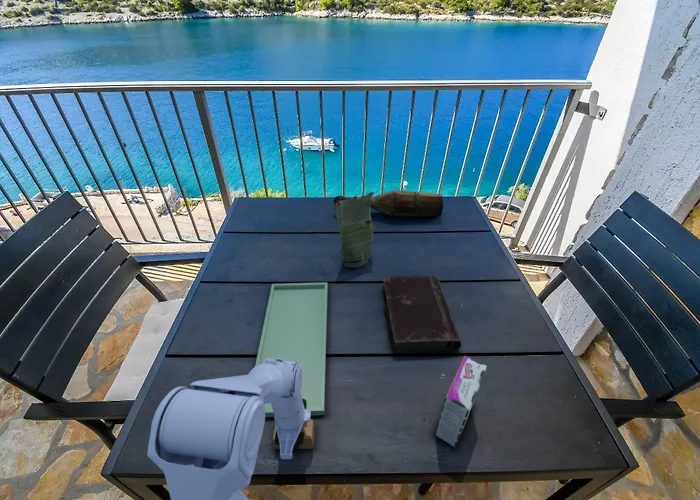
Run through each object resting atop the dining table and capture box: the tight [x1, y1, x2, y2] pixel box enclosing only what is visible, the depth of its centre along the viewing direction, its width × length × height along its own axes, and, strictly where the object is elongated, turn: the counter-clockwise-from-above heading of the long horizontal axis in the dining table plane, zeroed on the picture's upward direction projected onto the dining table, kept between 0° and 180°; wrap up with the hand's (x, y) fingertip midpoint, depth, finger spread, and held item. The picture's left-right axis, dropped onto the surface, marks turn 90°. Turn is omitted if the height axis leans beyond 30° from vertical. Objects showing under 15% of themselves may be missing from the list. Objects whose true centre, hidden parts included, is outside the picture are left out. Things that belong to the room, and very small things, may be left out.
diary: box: [382, 274, 462, 354], centre depth 101 cm, size 19×25×5 cm
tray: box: [254, 282, 329, 418], centre depth 95 cm, size 42×18×2 cm, turn 2°
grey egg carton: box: [434, 355, 488, 448], centre depth 73 cm, size 11×5×16 cm, turn 147°
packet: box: [272, 419, 316, 450], centre depth 74 cm, size 4×8×4 cm, turn 91°
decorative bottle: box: [332, 189, 446, 218], centre depth 143 cm, size 11×11×45 cm
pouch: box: [333, 191, 375, 269], centre depth 116 cm, size 11×12×25 cm
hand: (294, 436), depth 75 cm, fingers closed on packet, 4 cm apart
